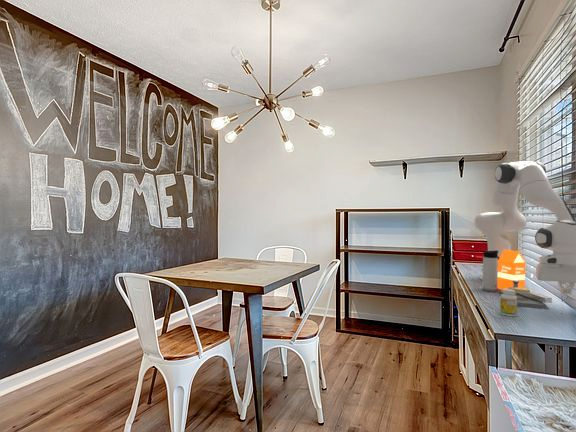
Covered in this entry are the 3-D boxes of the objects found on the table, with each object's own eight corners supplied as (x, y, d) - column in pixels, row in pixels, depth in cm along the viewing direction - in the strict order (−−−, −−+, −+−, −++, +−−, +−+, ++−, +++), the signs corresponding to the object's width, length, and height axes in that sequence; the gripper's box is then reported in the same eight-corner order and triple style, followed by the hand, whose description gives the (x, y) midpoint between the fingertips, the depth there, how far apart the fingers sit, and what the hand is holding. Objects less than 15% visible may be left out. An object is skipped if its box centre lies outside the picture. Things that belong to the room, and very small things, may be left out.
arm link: (507, 291, 160) (507, 279, 160) (516, 291, 160) (516, 279, 160) (543, 303, 139) (543, 290, 139) (553, 303, 140) (553, 290, 140)
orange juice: (508, 287, 175) (509, 249, 175) (525, 291, 167) (526, 251, 166) (497, 288, 173) (497, 249, 172) (512, 292, 164) (513, 251, 164)
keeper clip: (508, 295, 152) (508, 286, 152) (526, 297, 150) (527, 288, 150) (510, 298, 148) (510, 288, 148) (529, 299, 146) (529, 290, 146)
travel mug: (499, 292, 165) (500, 251, 165) (485, 291, 166) (486, 251, 166) (494, 289, 171) (495, 250, 171) (480, 288, 172) (481, 249, 172)
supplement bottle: (518, 317, 126) (519, 292, 126) (501, 315, 128) (502, 290, 128) (514, 313, 131) (515, 288, 131) (498, 311, 133) (499, 287, 133)
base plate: (499, 292, 164) (499, 289, 164) (529, 295, 159) (529, 292, 159) (512, 305, 142) (512, 301, 142) (546, 308, 138) (546, 305, 138)
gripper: (594, 260, 137) (593, 293, 138) (534, 257, 145) (534, 289, 145) (602, 262, 132) (601, 297, 132) (539, 259, 139) (538, 292, 139)
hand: (565, 293), depth 138 cm, fingers closed
